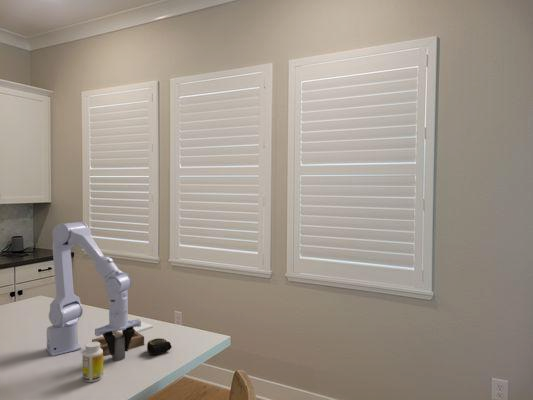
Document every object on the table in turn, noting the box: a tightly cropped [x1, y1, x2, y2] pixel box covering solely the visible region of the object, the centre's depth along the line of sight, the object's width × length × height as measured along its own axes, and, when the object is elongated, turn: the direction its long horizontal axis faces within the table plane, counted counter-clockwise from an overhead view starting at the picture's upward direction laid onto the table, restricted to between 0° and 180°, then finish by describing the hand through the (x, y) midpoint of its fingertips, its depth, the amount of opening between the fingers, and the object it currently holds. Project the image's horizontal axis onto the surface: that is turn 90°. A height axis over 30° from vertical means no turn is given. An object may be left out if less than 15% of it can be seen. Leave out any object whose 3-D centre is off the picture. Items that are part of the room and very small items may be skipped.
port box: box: [91, 331, 145, 357], centre depth 142 cm, size 15×9×3 cm, turn 131°
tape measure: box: [146, 337, 172, 356], centre depth 138 cm, size 7×7×4 cm
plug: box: [111, 335, 126, 362], centre depth 133 cm, size 4×4×7 cm
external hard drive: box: [114, 320, 154, 334], centre depth 159 cm, size 2×8×12 cm
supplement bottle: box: [82, 341, 104, 383], centre depth 119 cm, size 6×6×10 cm
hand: (118, 352), depth 133 cm, fingers closed on plug, 4 cm apart
